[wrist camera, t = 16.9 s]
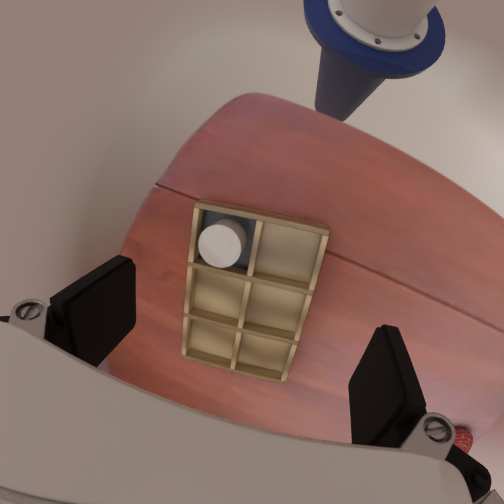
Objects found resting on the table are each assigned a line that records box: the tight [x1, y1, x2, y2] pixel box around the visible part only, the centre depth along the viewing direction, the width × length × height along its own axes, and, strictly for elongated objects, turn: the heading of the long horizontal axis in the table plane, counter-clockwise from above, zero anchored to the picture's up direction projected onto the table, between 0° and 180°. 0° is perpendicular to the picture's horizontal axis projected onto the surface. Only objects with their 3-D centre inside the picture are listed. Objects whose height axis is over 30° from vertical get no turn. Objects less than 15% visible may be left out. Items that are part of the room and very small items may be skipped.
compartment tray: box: [182, 199, 330, 384], centre depth 33 cm, size 20×14×2 cm
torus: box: [453, 428, 473, 453], centre depth 36 cm, size 16×14×4 cm
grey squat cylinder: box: [198, 218, 248, 268], centre depth 30 cm, size 4×4×3 cm
